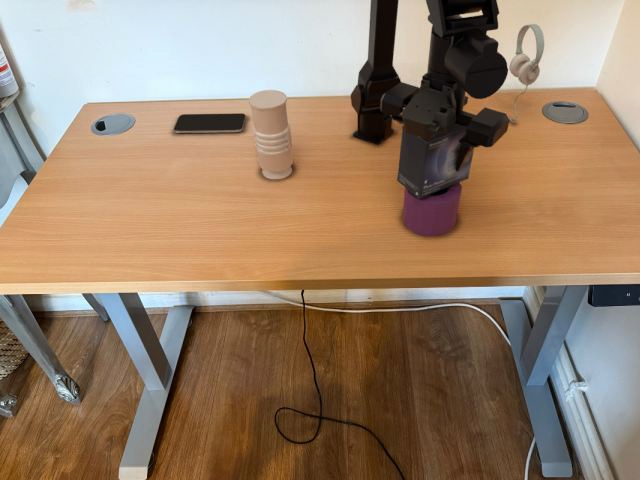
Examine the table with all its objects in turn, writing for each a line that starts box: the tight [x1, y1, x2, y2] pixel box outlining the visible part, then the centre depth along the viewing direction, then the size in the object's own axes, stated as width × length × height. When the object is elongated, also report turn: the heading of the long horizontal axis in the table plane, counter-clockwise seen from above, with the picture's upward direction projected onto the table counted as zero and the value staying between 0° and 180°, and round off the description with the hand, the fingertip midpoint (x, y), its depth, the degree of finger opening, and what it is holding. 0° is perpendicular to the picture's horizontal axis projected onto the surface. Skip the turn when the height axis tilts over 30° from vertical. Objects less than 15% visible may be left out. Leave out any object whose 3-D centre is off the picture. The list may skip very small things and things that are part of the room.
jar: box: [402, 182, 463, 237], centre depth 91 cm, size 9×9×7 cm
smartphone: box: [173, 112, 247, 134], centre depth 118 cm, size 7×1×15 cm
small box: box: [396, 123, 475, 199], centre depth 84 cm, size 11×6×10 cm, turn 122°
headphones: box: [508, 23, 545, 124], centre depth 108 cm, size 8×4×20 cm, turn 13°
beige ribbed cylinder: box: [248, 89, 294, 180], centre depth 100 cm, size 7×7×15 cm
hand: (436, 162), depth 85 cm, fingers closed on small box, 7 cm apart
